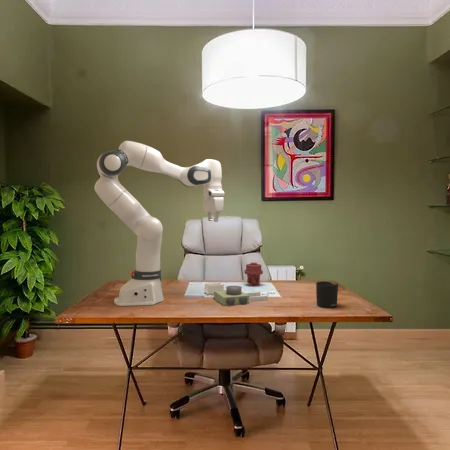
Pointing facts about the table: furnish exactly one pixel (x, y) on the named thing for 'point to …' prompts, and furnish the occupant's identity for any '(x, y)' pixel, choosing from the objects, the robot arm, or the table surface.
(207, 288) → the chute
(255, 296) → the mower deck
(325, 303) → the pen holder
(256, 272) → the mechanical component
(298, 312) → the table surface
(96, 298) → the table surface
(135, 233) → the robot arm
